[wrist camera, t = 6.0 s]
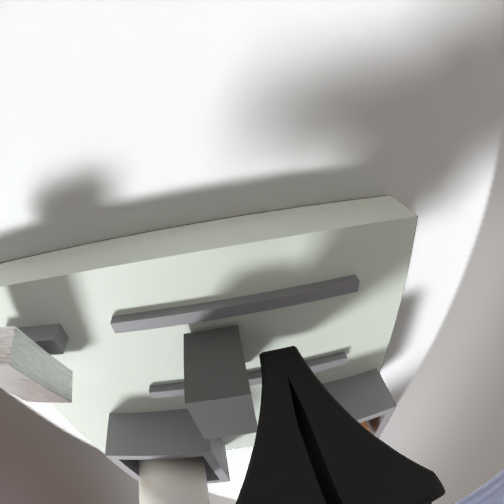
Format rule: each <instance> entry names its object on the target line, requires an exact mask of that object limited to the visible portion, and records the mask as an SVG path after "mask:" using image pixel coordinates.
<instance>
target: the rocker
mask: <svg viewBox="0 0 504 504" xmlns="http://www.w3.org/2000/svg"><path fill="white" fill-rule="evenodd" d="M72 381H73V371H72V370H70V369H69V368H67V367H66V366H65V365H63V364H62V363H61V362H59V361H58V360H57V359H55V358H54V357H53V356H51V355H50V354H49V353H48V352H46V351H45V350H44V349H42V348H41V347H40V346H39V345H38V344H36V343H35V342H34V341H33V340H31V339H30V338H29V337H28V336H27V335H26V334H24V333H23V332H22V331H21V330H20V329H19V328H18V327H16V326H7V327H0V387H1V388H3V389H5V390H7V391H8V392H10V393H12V394H14V395H16V396H17V397H19V398H21V399H23V400H25V401H31V402H52V403H72Z"/></svg>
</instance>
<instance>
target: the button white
mask: <svg viewBox="0 0 504 504" xmlns="http://www.w3.org/2000/svg"><path fill="white" fill-rule="evenodd" d="M139 504H210V503H209V495H208V486H207V478H206V469H205V463H204V462H203V461H202V460H201V459H199V458H196V457H188V458H173V459H145V460H139Z"/></svg>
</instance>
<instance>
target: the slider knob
mask: <svg viewBox="0 0 504 504" xmlns="http://www.w3.org/2000/svg"><path fill="white" fill-rule="evenodd" d="M184 396H185V405H186V407H187V409H188V410H189V412H190V414H191V416H192V418H193V420H194V422H195V423H196V425H197V427H198V429H199V431H200V432H201V434H202V436H203V438H204V439H205V440H207V439H216V438H224V437H231V436H237V435H244V434H250V433H256V432H257V427H258V426H257V421H256V416H255V411H254V406H253V401H252V396H251V391H250V385H249V380H248V375H247V370H246V365H245V360H244V355H243V349H242V344H241V339H240V333H239V328H238V325H236V326H230V327H224V328H218V329H212V330H206V331H199V332H192V333H186V334H184Z"/></svg>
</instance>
